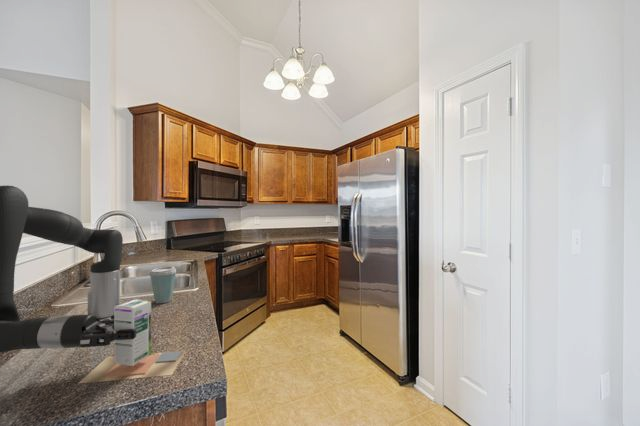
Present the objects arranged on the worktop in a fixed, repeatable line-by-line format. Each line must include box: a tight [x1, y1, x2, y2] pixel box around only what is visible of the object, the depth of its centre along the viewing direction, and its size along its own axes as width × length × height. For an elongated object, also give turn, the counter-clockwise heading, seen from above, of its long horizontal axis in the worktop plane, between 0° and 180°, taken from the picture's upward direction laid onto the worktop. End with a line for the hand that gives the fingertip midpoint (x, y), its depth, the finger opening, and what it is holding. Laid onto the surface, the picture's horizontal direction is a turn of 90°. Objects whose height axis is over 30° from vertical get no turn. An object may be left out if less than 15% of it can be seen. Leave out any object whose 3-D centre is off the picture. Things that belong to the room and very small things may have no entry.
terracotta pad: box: [104, 354, 159, 378], centre depth 72 cm, size 9×9×1 cm
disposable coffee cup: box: [149, 265, 177, 304], centre depth 127 cm, size 11×11×15 cm
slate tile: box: [156, 350, 183, 363], centre depth 76 cm, size 5×5×1 cm
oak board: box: [77, 350, 187, 385], centre depth 72 cm, size 20×12×1 cm, turn 100°
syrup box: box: [113, 299, 152, 366], centre depth 72 cm, size 6×6×14 cm
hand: (142, 327), depth 72 cm, fingers closed on syrup box, 7 cm apart
